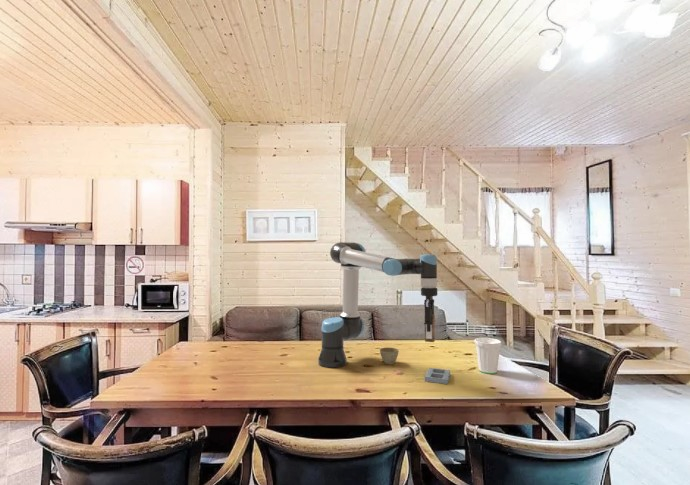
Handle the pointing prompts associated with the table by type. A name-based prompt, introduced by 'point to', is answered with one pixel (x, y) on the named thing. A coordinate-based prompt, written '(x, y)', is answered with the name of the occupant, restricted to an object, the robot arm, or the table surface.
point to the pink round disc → (398, 372)
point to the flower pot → (389, 355)
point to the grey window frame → (437, 375)
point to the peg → (432, 330)
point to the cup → (488, 354)
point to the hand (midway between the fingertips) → (430, 337)
